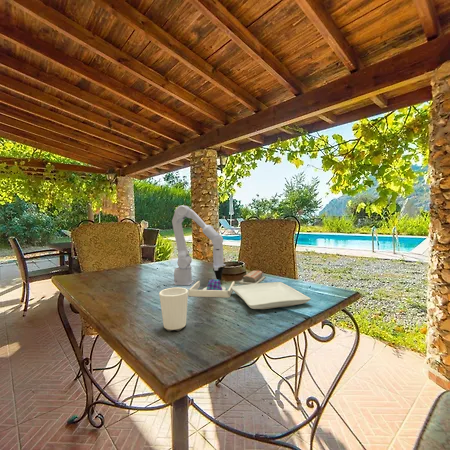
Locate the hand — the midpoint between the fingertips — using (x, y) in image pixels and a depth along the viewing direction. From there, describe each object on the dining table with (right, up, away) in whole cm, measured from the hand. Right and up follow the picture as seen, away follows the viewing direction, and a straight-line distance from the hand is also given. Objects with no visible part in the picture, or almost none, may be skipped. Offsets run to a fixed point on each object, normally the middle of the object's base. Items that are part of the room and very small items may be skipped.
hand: (219, 280), depth 145 cm
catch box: (-3, -2, -15) cm, 15 cm away
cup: (-14, -5, -55) cm, 57 cm away
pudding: (-2, -3, -13) cm, 13 cm away
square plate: (+22, -2, -30) cm, 37 cm away
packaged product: (+19, -1, +3) cm, 20 cm away
